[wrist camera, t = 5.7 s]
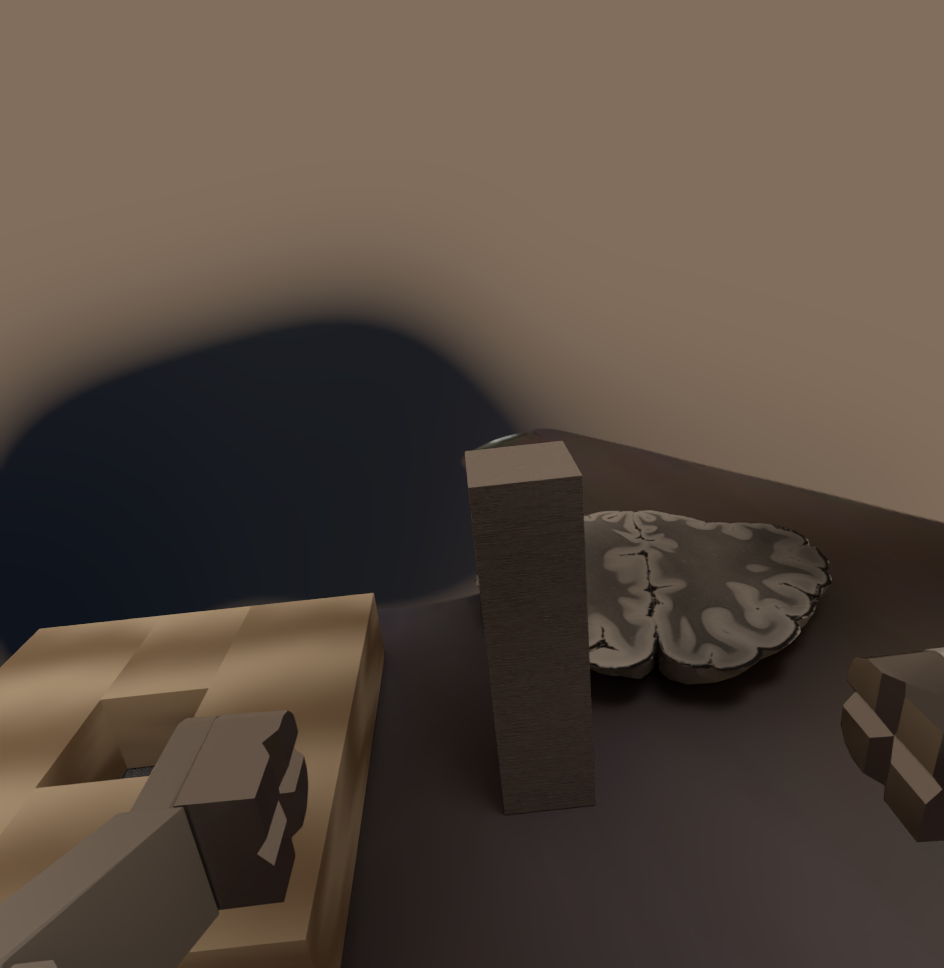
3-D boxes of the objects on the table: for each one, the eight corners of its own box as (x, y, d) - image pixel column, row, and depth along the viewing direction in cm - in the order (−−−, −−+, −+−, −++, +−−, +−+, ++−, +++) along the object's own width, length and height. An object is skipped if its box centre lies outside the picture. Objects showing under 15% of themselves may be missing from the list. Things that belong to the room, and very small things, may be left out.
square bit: (497, 746, 28) (464, 451, 23) (577, 737, 28) (562, 440, 23) (504, 814, 25) (468, 487, 20) (595, 804, 25) (582, 475, 20)
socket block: (64, 689, 36) (39, 628, 34) (384, 654, 36) (373, 592, 34) (-274, 1094, 19) (-351, 1010, 17) (332, 1028, 19) (305, 939, 17)
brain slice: (454, 715, 31) (447, 665, 30) (498, 549, 46) (495, 512, 45) (900, 734, 27) (911, 677, 26) (787, 547, 43) (791, 506, 42)
